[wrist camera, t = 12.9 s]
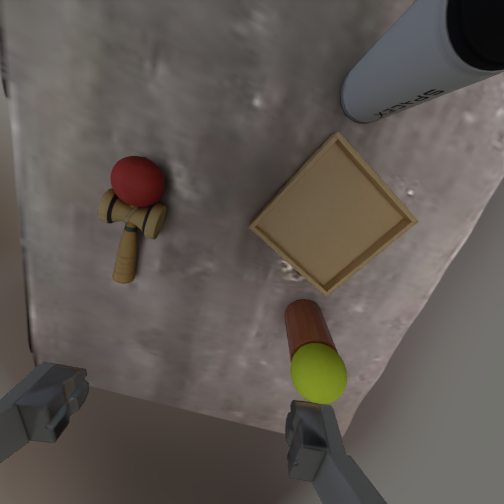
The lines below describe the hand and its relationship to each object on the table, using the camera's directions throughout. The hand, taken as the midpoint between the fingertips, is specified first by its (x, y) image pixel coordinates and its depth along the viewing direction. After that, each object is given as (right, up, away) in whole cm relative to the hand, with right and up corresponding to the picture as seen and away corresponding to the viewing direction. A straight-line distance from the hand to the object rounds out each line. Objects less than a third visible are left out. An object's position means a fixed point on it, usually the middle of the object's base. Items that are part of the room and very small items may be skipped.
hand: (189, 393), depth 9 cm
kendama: (-13, +10, +24) cm, 30 cm away
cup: (+11, -5, +29) cm, 31 cm away
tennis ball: (+10, -9, +18) cm, 23 cm away
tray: (+13, +10, +23) cm, 28 cm away
